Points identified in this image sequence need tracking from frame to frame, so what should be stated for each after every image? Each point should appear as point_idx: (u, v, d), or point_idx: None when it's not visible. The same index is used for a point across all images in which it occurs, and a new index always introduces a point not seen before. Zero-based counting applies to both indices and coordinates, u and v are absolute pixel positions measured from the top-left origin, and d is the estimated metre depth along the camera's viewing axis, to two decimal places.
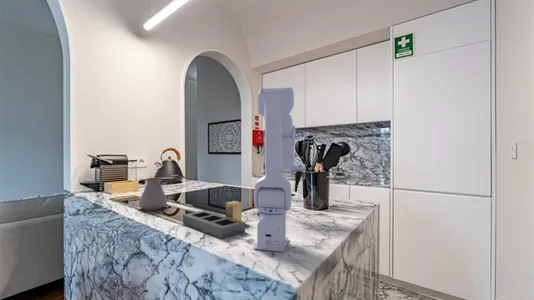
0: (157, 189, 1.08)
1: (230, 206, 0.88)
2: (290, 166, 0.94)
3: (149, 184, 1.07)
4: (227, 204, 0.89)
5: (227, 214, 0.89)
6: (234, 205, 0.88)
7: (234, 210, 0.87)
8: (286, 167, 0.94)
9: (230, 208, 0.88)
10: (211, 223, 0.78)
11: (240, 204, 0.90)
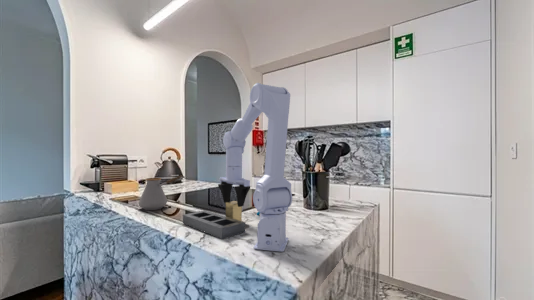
0: (157, 189, 1.08)
1: (230, 206, 0.88)
2: (232, 179, 0.87)
3: (149, 184, 1.07)
4: (227, 204, 0.89)
5: (227, 214, 0.89)
6: (234, 205, 0.87)
7: (234, 210, 0.87)
8: (228, 179, 0.87)
9: (230, 208, 0.88)
10: (211, 223, 0.78)
11: None
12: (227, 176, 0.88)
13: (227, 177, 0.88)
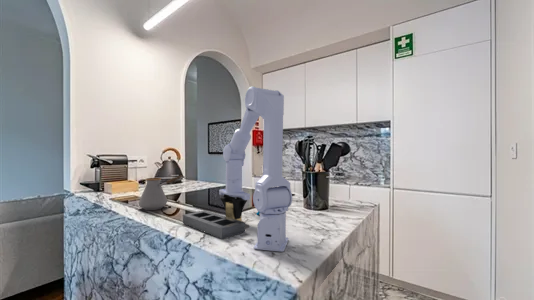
0: (157, 189, 1.08)
1: (230, 206, 0.88)
2: (232, 192, 0.87)
3: (149, 184, 1.07)
4: (227, 204, 0.89)
5: (227, 214, 0.89)
6: None
7: None
8: (228, 192, 0.87)
9: (230, 208, 0.88)
10: (211, 223, 0.78)
11: None
12: (227, 189, 0.88)
13: (227, 190, 0.88)
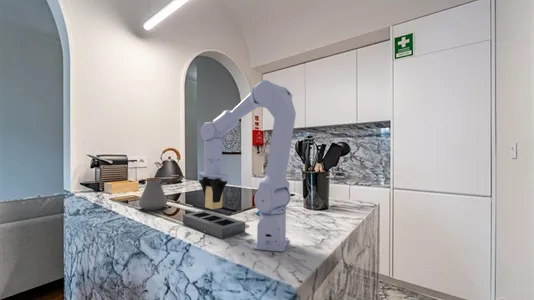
0: (157, 189, 1.08)
1: (210, 189, 0.82)
2: (210, 173, 0.80)
3: (149, 184, 1.07)
4: (207, 188, 0.83)
5: (207, 198, 0.83)
6: None
7: None
8: (206, 173, 0.81)
9: (210, 191, 0.82)
10: (211, 223, 0.78)
11: None
12: (205, 170, 0.81)
13: (205, 171, 0.81)
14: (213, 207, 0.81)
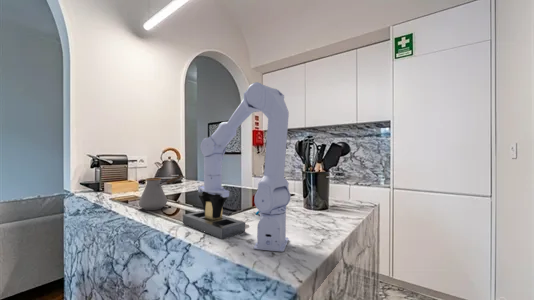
0: (157, 189, 1.08)
1: (210, 205, 0.82)
2: (210, 189, 0.80)
3: (149, 184, 1.07)
4: (207, 203, 0.83)
5: (206, 214, 0.83)
6: None
7: None
8: (206, 189, 0.81)
9: (210, 207, 0.82)
10: (211, 223, 0.78)
11: None
12: (205, 186, 0.81)
13: (205, 187, 0.81)
14: None
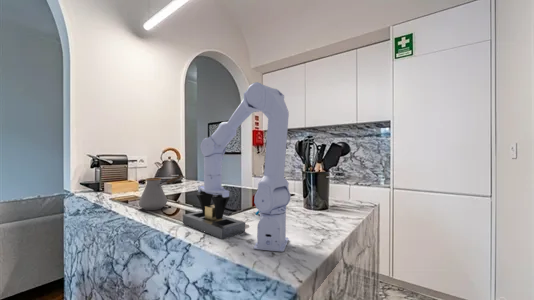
0: (157, 189, 1.08)
1: (209, 210, 0.82)
2: (210, 189, 0.80)
3: (149, 184, 1.07)
4: (206, 208, 0.83)
5: (206, 219, 0.83)
6: (213, 209, 0.81)
7: (213, 214, 0.81)
8: (206, 189, 0.81)
9: (209, 212, 0.82)
10: (211, 223, 0.78)
11: None
12: (205, 186, 0.81)
13: (205, 187, 0.81)
14: None
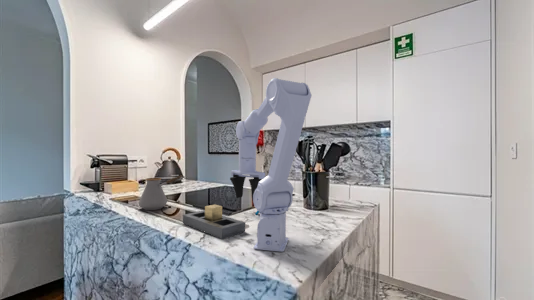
0: (157, 189, 1.08)
1: (209, 210, 0.82)
2: (246, 171, 0.81)
3: (149, 184, 1.07)
4: (206, 208, 0.83)
5: (206, 219, 0.83)
6: (213, 209, 0.81)
7: (213, 214, 0.81)
8: (242, 171, 0.82)
9: (209, 212, 0.82)
10: (211, 223, 0.78)
11: (220, 208, 0.83)
12: (240, 168, 0.82)
13: (240, 169, 0.82)
14: None
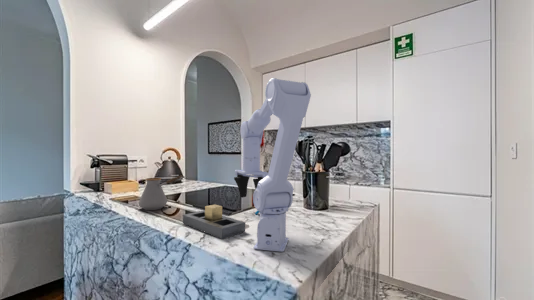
0: (157, 189, 1.08)
1: (209, 210, 0.82)
2: (250, 171, 0.82)
3: (149, 184, 1.07)
4: (206, 208, 0.83)
5: (206, 219, 0.83)
6: (213, 209, 0.81)
7: (213, 214, 0.81)
8: (246, 171, 0.82)
9: (209, 212, 0.82)
10: (211, 223, 0.78)
11: (220, 208, 0.83)
12: (244, 168, 0.82)
13: (244, 169, 0.82)
14: None
